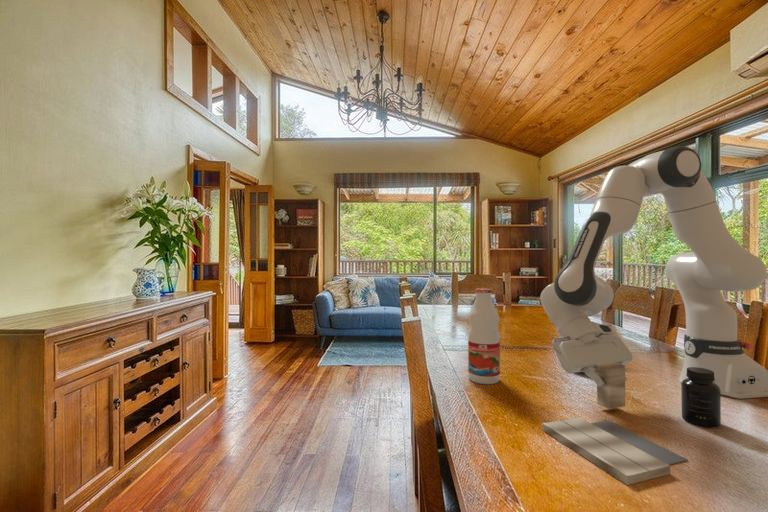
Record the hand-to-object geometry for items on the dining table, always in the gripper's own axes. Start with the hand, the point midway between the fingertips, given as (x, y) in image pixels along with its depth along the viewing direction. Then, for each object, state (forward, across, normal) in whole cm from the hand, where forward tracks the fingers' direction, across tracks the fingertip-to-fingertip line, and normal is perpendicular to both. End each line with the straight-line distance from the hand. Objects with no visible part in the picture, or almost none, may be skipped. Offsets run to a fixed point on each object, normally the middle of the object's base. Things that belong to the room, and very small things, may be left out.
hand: (613, 383), depth 90 cm
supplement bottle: (+13, +14, -2) cm, 19 cm away
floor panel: (+14, -18, -4) cm, 23 cm away
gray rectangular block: (+3, 0, +4) cm, 5 cm away
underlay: (+13, -10, -4) cm, 17 cm away
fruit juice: (-16, -18, +25) cm, 35 cm away
